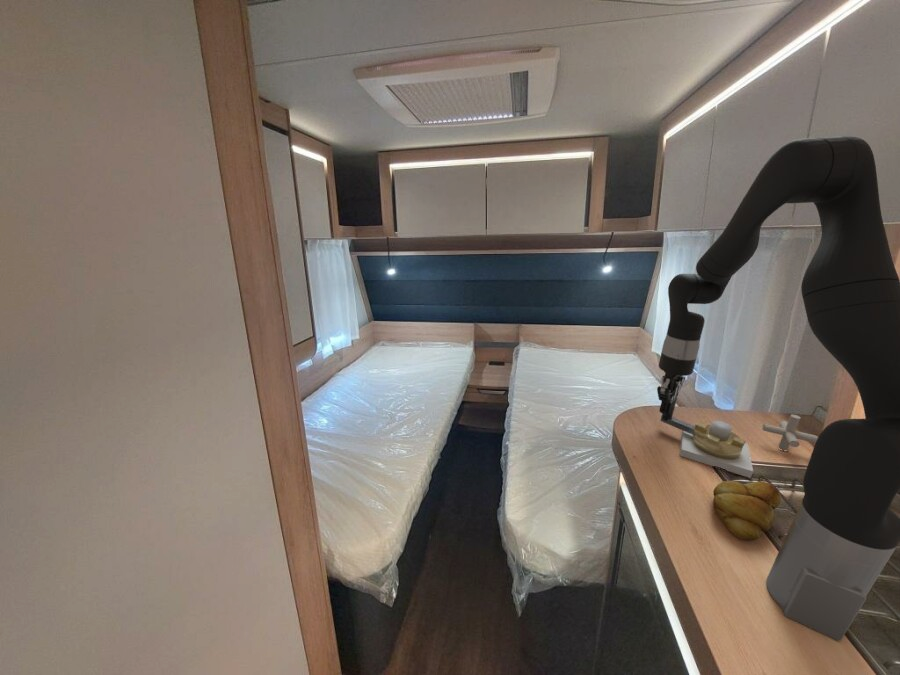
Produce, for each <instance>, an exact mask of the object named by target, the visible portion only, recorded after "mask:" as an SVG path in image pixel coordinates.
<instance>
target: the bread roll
mask: <svg viewBox="0 0 900 675" xmlns="http://www.w3.org/2000/svg"><path fill="white" fill-rule="evenodd" d="M712 494H713V501H712V504H713V509H714V512H715V513H716V515H717V516H718V517H719V519H721V520H722V521H723V523H724V524H725V526H726V528H727V529H728V530H729V532H731V533H732V534H733V535H734V536H736V538H739V539H742V540H743V541H755V540H757V539H759V537H761V536H762V534H763V533H765V532H768V531H769V530H770V529H771V527H772V525H773V522H774V520H775V515H776V511H775V510H776V509H777V508H778V507H779V505H780V503H781V500H782V499H781V498H782V494H781V493H780V491H779V489H778V488H777V487H776V486H775V485H773V484H772V483H770V482H768V481H756V482H748V483H745V484H743V483H741V482H739V481H734V480H733V481H732V480H726V481H723V480H722V481H721V482H720V483H717V485H716V486H715V487H714V489H713V493H712Z"/></svg>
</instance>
